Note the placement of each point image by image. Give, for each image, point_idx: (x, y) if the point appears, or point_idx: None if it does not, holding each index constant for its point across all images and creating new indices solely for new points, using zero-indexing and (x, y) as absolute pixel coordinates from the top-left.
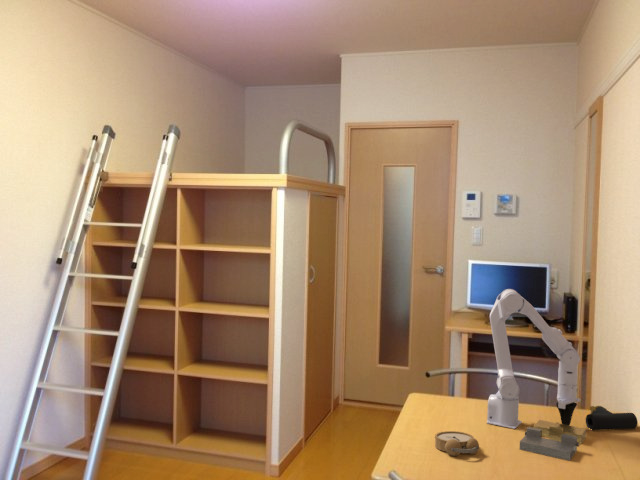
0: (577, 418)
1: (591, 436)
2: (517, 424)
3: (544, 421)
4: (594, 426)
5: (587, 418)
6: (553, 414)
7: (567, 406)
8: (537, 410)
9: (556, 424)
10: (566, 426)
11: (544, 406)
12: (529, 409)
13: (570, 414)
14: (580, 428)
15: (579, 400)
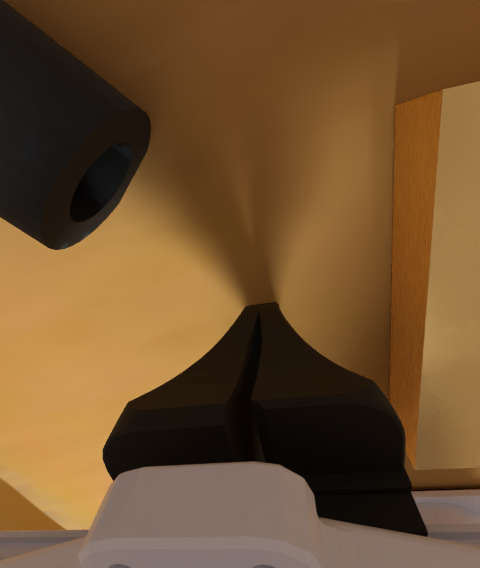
0: (10, 326)
1: (315, 78)
2: (435, 500)
3: (438, 441)
4: (144, 114)
5: (70, 228)
6: (83, 432)
7: (408, 484)
8: (102, 490)
9: (465, 364)
10: (478, 286)
11: (18, 486)
12: None
13: (315, 355)
14: (466, 150)
15: (269, 514)
